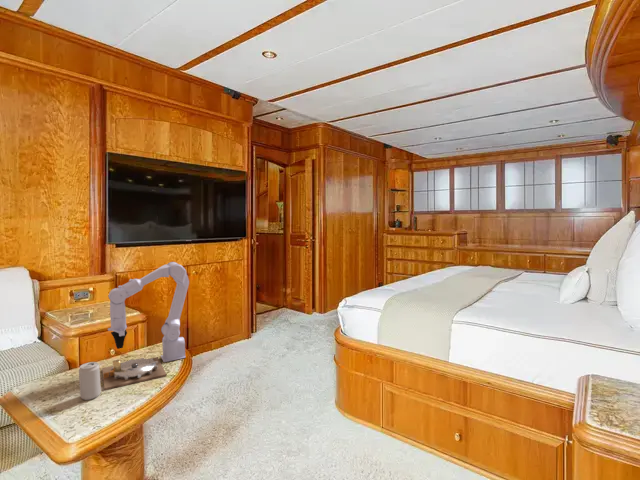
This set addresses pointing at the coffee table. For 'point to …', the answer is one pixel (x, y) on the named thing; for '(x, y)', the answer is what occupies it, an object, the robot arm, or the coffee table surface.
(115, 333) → the robot arm
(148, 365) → the sprocket wheel
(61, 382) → the coffee table surface
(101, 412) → the coffee table surface
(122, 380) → the walnut board
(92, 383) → the beverage can
